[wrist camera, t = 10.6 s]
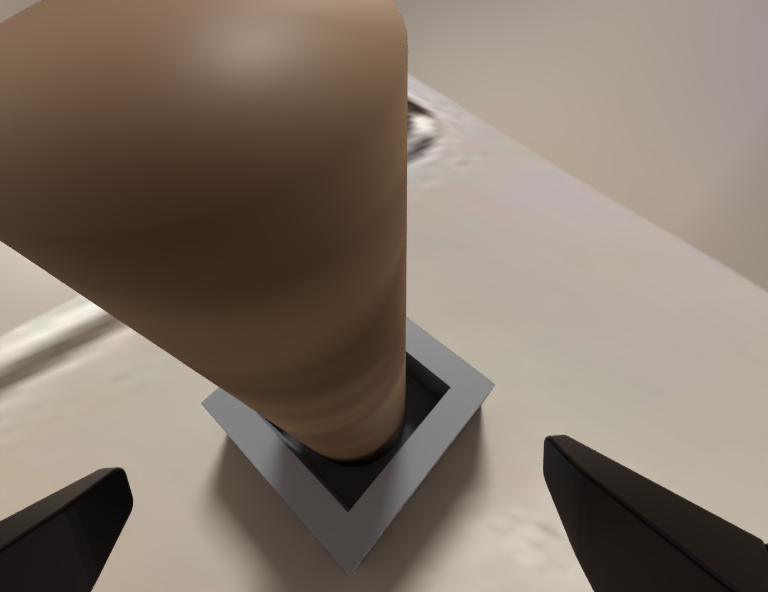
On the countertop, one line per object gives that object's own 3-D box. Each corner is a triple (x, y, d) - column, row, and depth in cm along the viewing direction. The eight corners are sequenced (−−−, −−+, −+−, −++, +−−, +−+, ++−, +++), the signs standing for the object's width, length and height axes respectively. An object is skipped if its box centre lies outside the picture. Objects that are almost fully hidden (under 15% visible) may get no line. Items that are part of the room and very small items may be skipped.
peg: (356, 491, 15) (49, 368, 2) (284, 416, 17) (-148, 77, 4) (426, 407, 17) (504, 23, 4) (353, 345, 18) (223, -76, 5)
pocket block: (358, 566, 14) (348, 575, 12) (231, 420, 17) (200, 403, 15) (481, 404, 17) (495, 384, 14) (354, 303, 20) (347, 271, 17)
